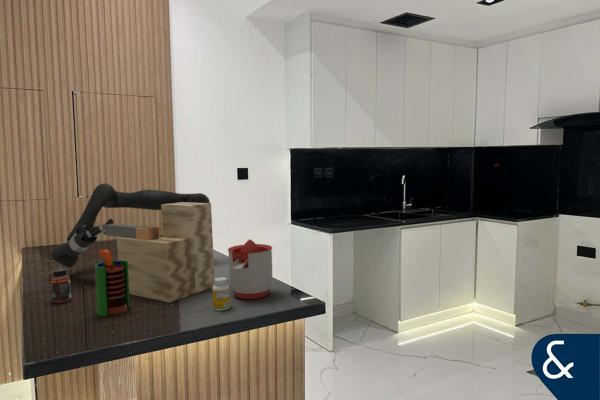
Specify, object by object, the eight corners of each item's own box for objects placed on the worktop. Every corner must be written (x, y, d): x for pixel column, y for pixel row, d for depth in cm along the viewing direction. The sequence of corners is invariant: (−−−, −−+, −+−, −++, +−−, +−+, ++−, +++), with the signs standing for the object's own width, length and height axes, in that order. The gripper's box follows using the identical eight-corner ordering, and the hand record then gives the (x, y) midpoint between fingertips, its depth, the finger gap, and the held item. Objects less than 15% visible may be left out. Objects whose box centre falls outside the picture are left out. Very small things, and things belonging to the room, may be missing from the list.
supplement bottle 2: (214, 305, 147) (212, 277, 146) (230, 305, 148) (229, 276, 147) (212, 311, 142) (211, 281, 141) (229, 310, 142) (228, 280, 141)
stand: (166, 278, 185) (162, 201, 182) (214, 286, 170) (210, 203, 168) (120, 292, 166) (114, 207, 164) (169, 302, 152) (164, 209, 149)
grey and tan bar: (116, 233, 176) (115, 223, 176) (160, 237, 162) (160, 226, 162) (102, 235, 171) (102, 225, 171) (147, 240, 157) (146, 229, 157)
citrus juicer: (218, 301, 152) (215, 243, 150) (243, 287, 168) (241, 235, 166) (259, 305, 146) (256, 245, 144) (281, 290, 162) (279, 236, 161)
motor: (115, 317, 139) (111, 254, 137) (90, 315, 141) (85, 253, 139) (133, 306, 149) (130, 247, 147) (110, 305, 151) (106, 247, 149)
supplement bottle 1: (75, 299, 159) (73, 268, 158) (61, 304, 153) (59, 272, 152) (62, 298, 161) (60, 267, 160) (48, 303, 155) (46, 271, 154)
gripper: (62, 234, 178) (82, 215, 170) (95, 229, 190) (115, 211, 182) (69, 251, 177) (89, 233, 168) (101, 245, 189) (121, 228, 180)
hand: (102, 222), depth 175 cm, fingers open, 8 cm apart
